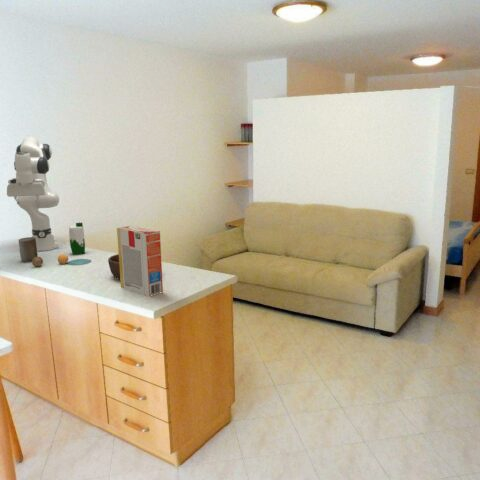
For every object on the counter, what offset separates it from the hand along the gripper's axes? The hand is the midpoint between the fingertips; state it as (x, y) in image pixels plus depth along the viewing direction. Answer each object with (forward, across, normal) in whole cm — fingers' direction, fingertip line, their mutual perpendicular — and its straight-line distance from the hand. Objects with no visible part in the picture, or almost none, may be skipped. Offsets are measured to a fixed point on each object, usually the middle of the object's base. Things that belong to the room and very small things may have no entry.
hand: (27, 203), depth 268 cm
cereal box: (+38, -52, +76) cm, 100 cm away
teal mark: (+36, -26, +8) cm, 45 cm away
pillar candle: (+36, +3, -10) cm, 37 cm away
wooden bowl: (+38, -52, +49) cm, 81 cm away
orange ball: (+33, -17, +8) cm, 38 cm away
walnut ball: (+33, -3, +8) cm, 34 cm away
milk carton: (+36, -26, -16) cm, 47 cm away
